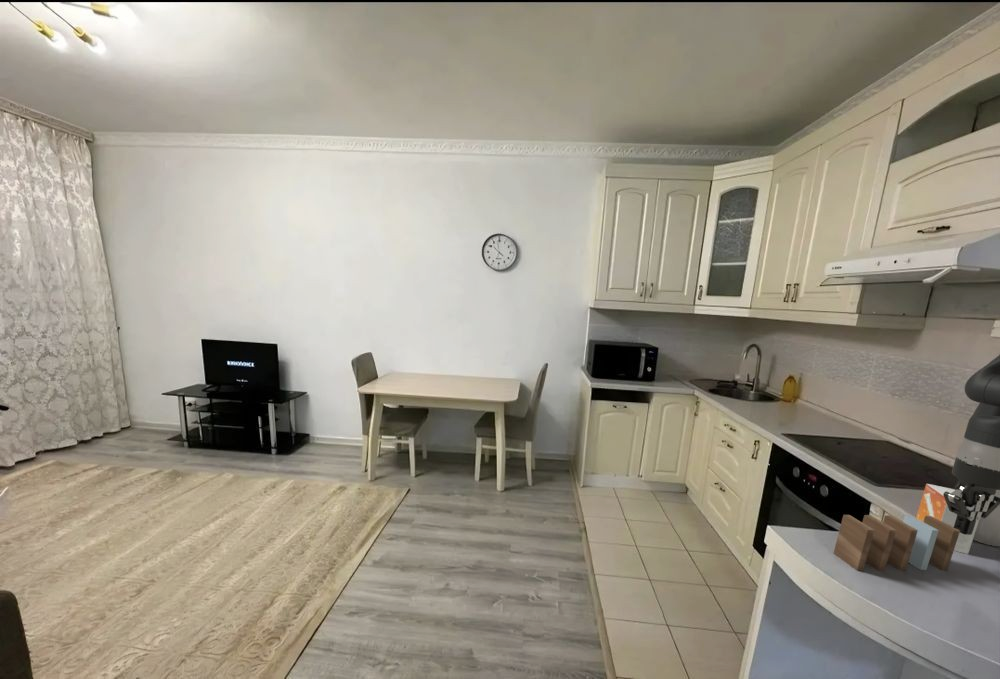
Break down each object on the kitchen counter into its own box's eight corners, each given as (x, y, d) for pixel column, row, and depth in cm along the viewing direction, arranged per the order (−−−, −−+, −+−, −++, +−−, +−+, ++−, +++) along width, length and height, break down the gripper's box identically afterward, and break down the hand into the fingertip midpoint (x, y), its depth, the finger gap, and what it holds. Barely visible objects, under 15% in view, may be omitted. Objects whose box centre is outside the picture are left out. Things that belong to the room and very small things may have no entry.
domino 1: (839, 553, 82) (849, 514, 81) (863, 570, 78) (874, 529, 76) (833, 553, 82) (843, 514, 81) (856, 570, 77) (867, 529, 76)
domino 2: (859, 553, 83) (870, 515, 82) (884, 570, 78) (896, 530, 77) (853, 553, 83) (864, 515, 81) (878, 570, 78) (889, 530, 76)
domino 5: (919, 553, 85) (931, 515, 83) (947, 569, 80) (960, 530, 78) (913, 553, 85) (925, 515, 83) (941, 570, 80) (954, 530, 78)
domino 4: (899, 553, 84) (910, 515, 83) (926, 569, 79) (938, 530, 78) (893, 553, 84) (904, 515, 83) (920, 570, 79) (932, 530, 78)
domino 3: (880, 553, 84) (890, 515, 82) (905, 570, 79) (917, 530, 77) (874, 553, 84) (884, 515, 82) (899, 570, 79) (911, 530, 77)
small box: (912, 526, 96) (925, 482, 94) (945, 535, 93) (959, 490, 91) (933, 545, 88) (947, 498, 86) (969, 555, 86) (985, 506, 84)
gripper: (982, 455, 83) (962, 521, 86) (936, 453, 82) (917, 521, 84) (1033, 471, 76) (1009, 544, 78) (984, 470, 74) (961, 544, 77)
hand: (962, 532), depth 81 cm, fingers closed
